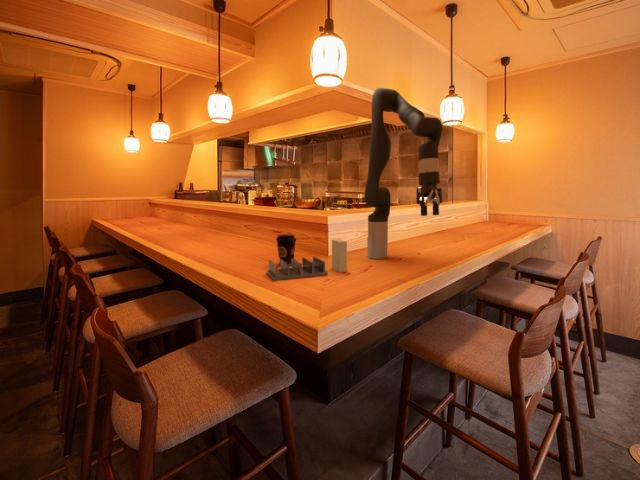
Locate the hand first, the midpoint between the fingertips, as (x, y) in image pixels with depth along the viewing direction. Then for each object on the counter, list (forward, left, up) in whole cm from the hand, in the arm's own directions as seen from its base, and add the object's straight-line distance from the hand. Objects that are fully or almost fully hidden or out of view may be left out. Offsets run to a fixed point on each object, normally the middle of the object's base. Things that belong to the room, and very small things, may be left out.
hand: (430, 215), depth 127 cm
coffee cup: (-37, -46, -22) cm, 64 cm away
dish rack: (-18, -47, -22) cm, 55 cm away
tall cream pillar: (-18, -29, -22) cm, 41 cm away
